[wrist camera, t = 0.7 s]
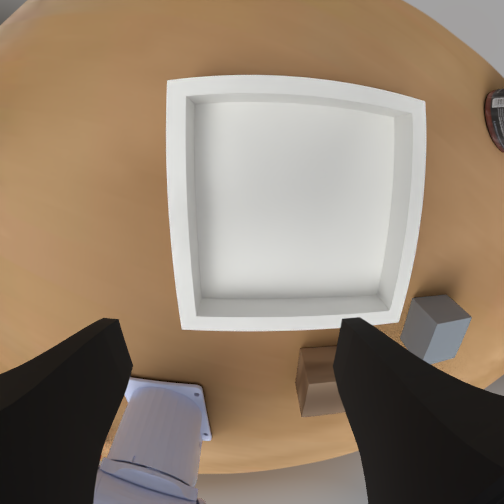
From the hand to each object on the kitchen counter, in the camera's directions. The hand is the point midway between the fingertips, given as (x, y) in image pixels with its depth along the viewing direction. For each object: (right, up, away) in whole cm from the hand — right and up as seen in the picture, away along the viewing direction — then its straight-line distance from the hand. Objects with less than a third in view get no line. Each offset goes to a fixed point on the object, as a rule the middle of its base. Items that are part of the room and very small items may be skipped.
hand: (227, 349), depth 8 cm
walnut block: (+7, -6, +13) cm, 15 cm away
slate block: (+16, -3, +11) cm, 19 cm away
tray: (+4, +6, +8) cm, 11 cm away
